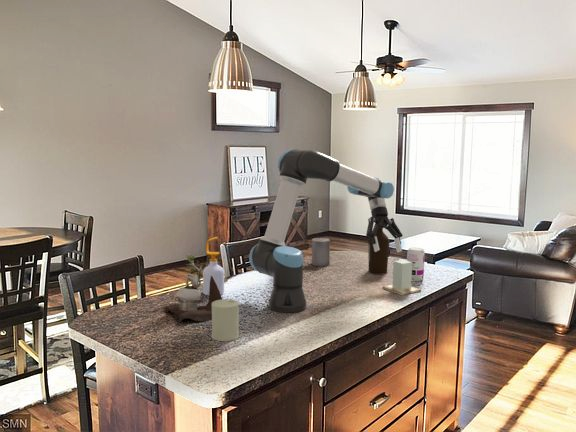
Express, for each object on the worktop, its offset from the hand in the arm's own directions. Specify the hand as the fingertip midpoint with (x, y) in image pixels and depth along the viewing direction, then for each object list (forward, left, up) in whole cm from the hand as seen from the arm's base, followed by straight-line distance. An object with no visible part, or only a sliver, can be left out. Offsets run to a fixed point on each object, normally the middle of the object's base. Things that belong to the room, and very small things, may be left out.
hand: (388, 251), depth 239 cm
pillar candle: (+10, +49, -16) cm, 53 cm away
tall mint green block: (-1, -9, -15) cm, 18 cm away
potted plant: (-87, +28, -17) cm, 93 cm away
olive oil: (+19, +18, -16) cm, 31 cm away
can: (-94, +1, -16) cm, 96 cm away
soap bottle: (-66, +44, -16) cm, 81 cm away
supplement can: (+20, -3, -16) cm, 26 cm away
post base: (-1, -9, -16) cm, 18 cm away
